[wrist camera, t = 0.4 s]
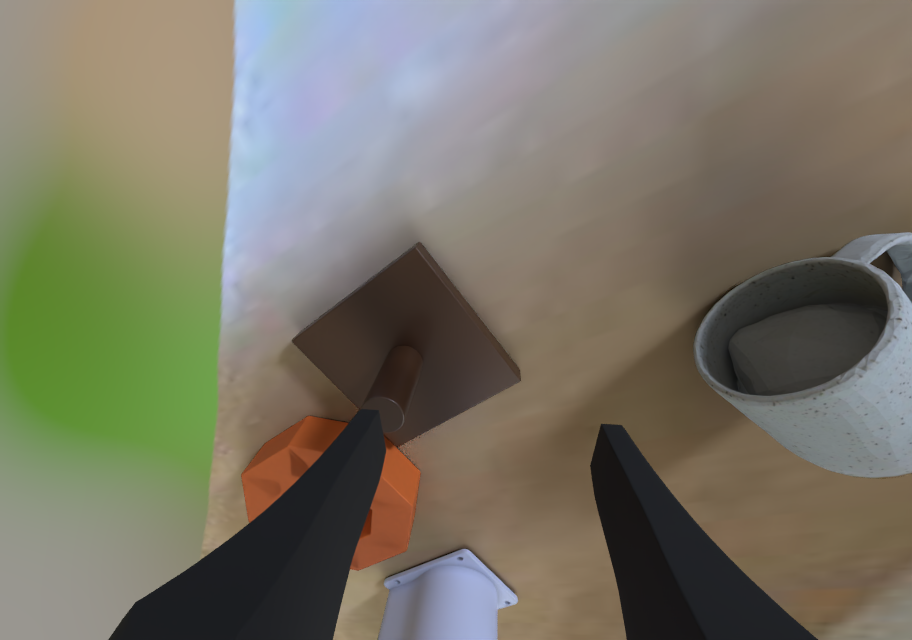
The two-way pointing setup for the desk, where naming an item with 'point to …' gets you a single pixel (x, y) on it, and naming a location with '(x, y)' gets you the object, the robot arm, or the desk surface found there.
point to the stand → (408, 348)
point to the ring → (297, 454)
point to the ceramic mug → (822, 356)
